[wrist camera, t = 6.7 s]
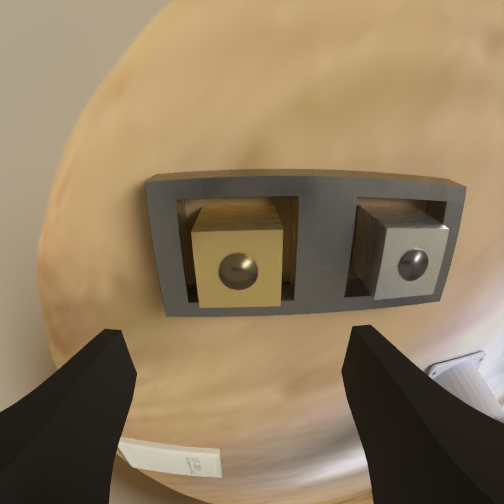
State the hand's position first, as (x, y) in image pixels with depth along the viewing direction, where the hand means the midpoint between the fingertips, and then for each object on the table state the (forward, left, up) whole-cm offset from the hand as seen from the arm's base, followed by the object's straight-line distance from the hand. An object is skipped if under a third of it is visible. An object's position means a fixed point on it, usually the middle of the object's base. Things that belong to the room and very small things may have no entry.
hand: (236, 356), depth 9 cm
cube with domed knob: (0, -9, -10) cm, 13 cm away
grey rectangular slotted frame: (0, -4, -9) cm, 10 cm away
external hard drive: (-29, +10, -10) cm, 32 cm away
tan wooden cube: (0, 0, -10) cm, 10 cm away
